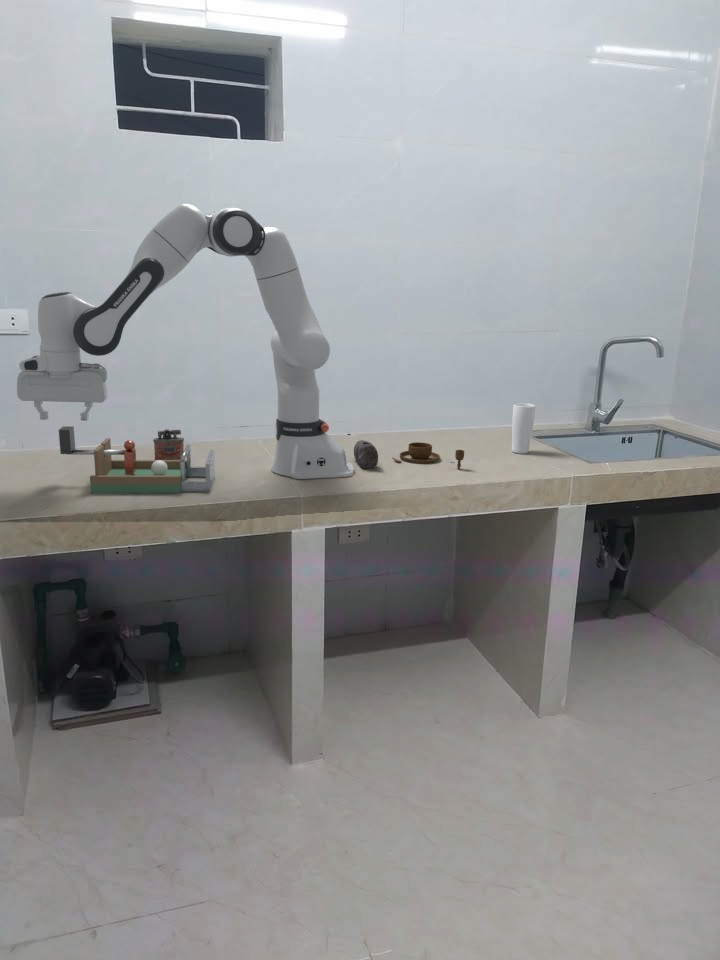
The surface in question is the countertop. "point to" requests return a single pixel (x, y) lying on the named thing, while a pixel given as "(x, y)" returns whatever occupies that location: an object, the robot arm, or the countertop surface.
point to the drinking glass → (522, 427)
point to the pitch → (132, 475)
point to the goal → (197, 473)
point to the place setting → (425, 454)
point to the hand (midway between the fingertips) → (64, 419)
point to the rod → (69, 448)
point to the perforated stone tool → (365, 454)
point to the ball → (159, 468)
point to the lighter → (168, 445)
